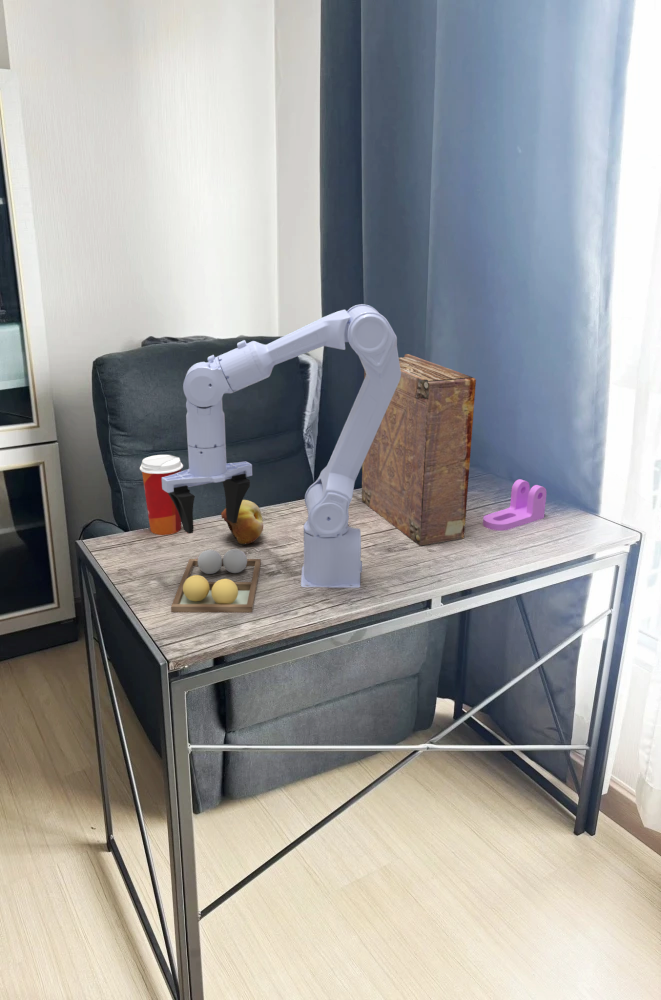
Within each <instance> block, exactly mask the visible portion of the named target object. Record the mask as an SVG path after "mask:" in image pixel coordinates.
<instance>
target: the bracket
mask: <svg viewBox="0 0 661 1000" xmlns="http://www.w3.org/2000/svg"><path fill="white" fill-rule="evenodd" d="M546 501H547V489H546V488H545V487H544V486H541V485H538V484H534V485H533V486H532V487H531V486H530V482H528V481H527V480H523V479H520V478H519V479H517V480H515V481H514V483H513V484H512V486H511V493H510V503H509V507H507V508H505V509H501V510H497V511H495V512H492V513H489V514H485V515H484V516H483V518H482V527H484V528H486V529H488V530H491V531H497V532H498V531H508V530H511V529H515V528H518V527H520V526H523V525H527V524H530V523H532V522H536V521H540V520H542V519H544V518H545V511H546Z"/></svg>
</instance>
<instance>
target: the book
mask: <svg viewBox="0 0 661 1000" xmlns="http://www.w3.org/2000/svg"><path fill="white" fill-rule="evenodd" d="M399 364H400V370H401V377H400V381H399V383H398V385H397V388H396V390H395V392H394V394H393V397H392V399H391V401H390V403H389V406H388V408H387V410H386V412H385V415H384V417H383V419H382V421H381V424H380V426H379V428H378V430H377V433H376V435H375V437H374V439H373V442H372V444H371V446H370V448H369V451H368V453H367V455H366V457H365V460H364V462H363V464H362V466H361V469H362V470H361V472H362V473H361V474H362V475H361V501H362V503H363V504H364V505H365V506H367V507H369V508H370V509H371V510H372V511H374V512H375V513H376V514H377V515H379V516H380V517H381V518H382V519H384V520H385V521H387V522H388V523H389V524H391V525H392V526H393V527H395V528H396V529H397V530H399V531H400V532H401V533H403V534H404V535H405V536H406V537H408V538H409V539H411V540H412V541H413V542H414V543H416V544H417V545H418V546H419V547H420V546H426V545H427V546H428V545H432V544H438V543H443V542H449V541H455V540H461V539H464V538H465V534H466V533H465V531H466V529H465V528H466V517H467V506H468V503H467V502H468V492H469V490H468V488H469V478H470V477H469V475H470V466H471V465H470V464H471V451H472V438H473V424H474V412H475V411H474V410H475V400H476V399H475V398H476V397H475V396H476V383H477V379H476V378H475V377H474V376H471V375H468V374H464V373H462V372H459V371H457V370H454V369H451V368H448V367H445V366H443V365H440V364H437V363H434V362H431V361H428V360H425V359H423V358H421V357H420V358H419V357H417V356H415V355H412V354H410V353H409V354H408V353H405V354H404V357H399ZM363 369H364V368H363ZM363 371H364V372H363V373H364V375H363V376H364V377H363V380H364V379H365V377H366V372H365V369H364V370H363Z"/></svg>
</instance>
